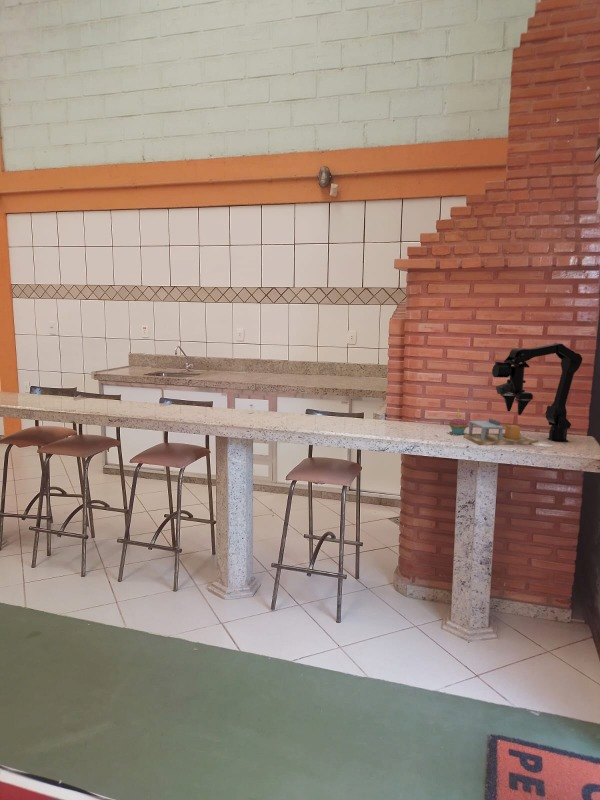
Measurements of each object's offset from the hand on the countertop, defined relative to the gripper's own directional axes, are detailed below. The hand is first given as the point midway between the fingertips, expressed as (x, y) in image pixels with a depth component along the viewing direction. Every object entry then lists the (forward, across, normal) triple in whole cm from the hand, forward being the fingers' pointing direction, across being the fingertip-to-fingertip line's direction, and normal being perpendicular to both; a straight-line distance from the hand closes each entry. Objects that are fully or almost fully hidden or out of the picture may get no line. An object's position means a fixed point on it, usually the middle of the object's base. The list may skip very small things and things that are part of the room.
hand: (513, 413), depth 251 cm
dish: (+12, +9, +9) cm, 18 cm away
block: (+12, 0, 0) cm, 12 cm away
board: (+12, 0, -5) cm, 14 cm away
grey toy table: (+11, 0, -13) cm, 17 cm away
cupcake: (+13, -16, -18) cm, 27 cm away
